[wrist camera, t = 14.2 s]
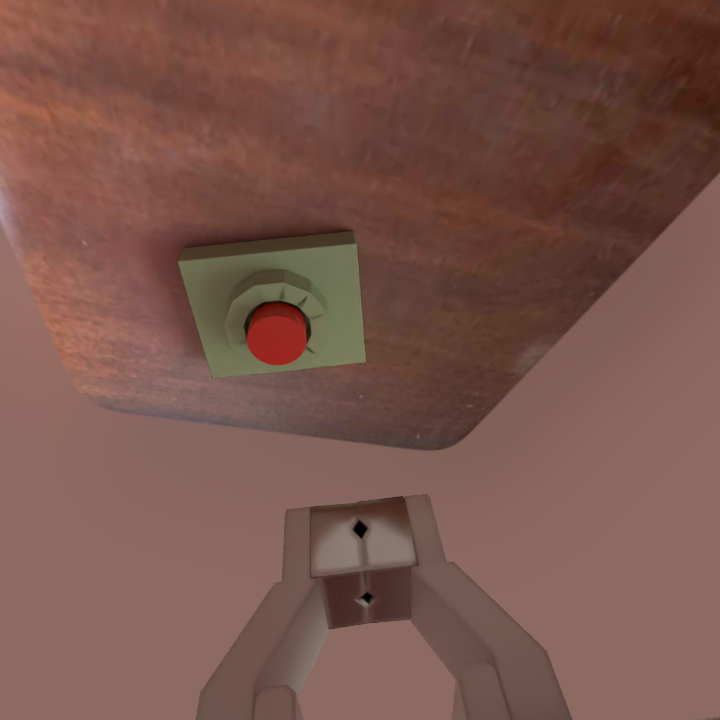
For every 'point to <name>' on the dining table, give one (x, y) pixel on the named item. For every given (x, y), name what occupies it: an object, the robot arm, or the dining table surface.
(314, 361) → the olive flat block
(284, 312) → the button
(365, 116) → the dining table surface
